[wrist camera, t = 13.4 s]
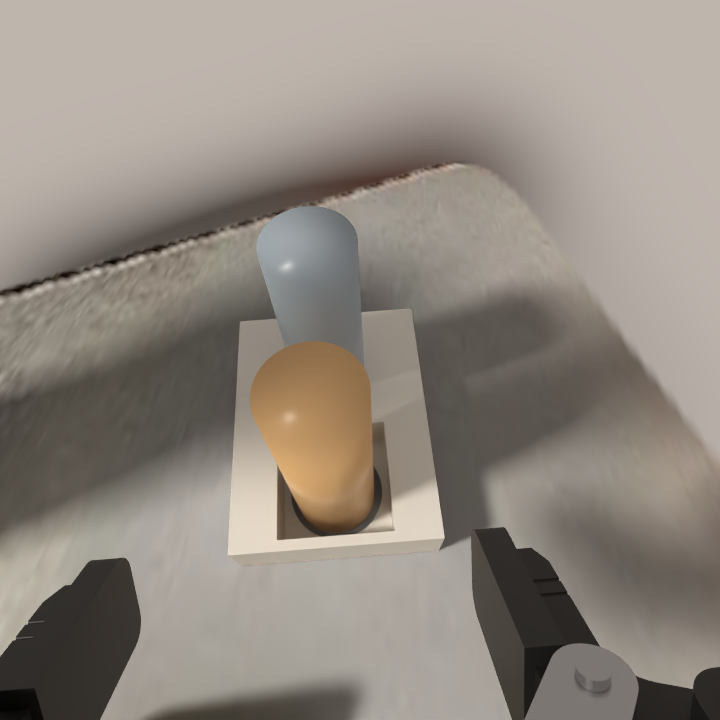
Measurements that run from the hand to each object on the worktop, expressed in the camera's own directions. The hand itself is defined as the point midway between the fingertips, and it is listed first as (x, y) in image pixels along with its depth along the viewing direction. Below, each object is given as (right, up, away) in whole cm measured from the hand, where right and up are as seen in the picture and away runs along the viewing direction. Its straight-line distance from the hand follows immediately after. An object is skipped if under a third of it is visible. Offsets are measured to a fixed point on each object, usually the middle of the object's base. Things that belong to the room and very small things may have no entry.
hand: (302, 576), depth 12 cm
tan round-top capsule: (0, -2, +16) cm, 16 cm away
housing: (0, +1, +18) cm, 18 cm away
